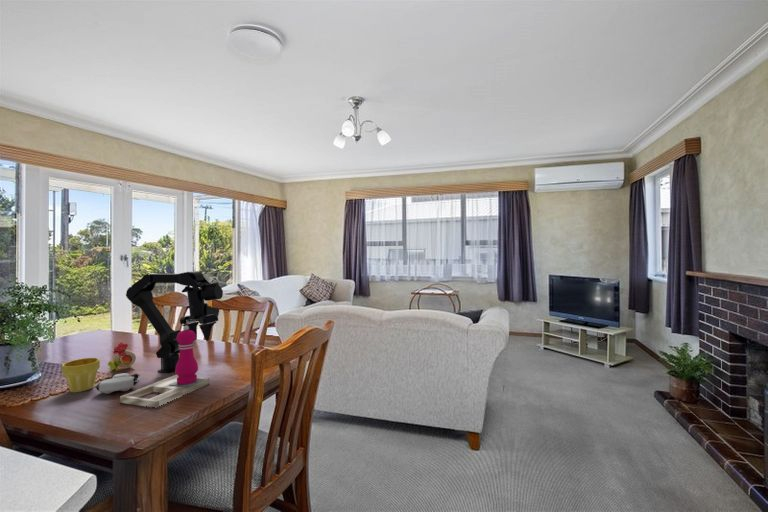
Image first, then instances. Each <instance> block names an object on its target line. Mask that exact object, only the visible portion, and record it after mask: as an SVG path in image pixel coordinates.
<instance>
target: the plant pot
mask: <svg viewBox="0 0 768 512" xmlns="http://www.w3.org/2000/svg"><path fill="white" fill-rule="evenodd" d="M100 362H101V361H100V358H98V357H83V358H77V359H73V360H70V361H66V362H64V363H63V364H62V365H61V372H62V373H61V374H62V376H64V377H65V380H66V383H67V386H68V389H69V392H70V393H82V392H85V391H89V390H92V389H93V386H95V383H96V379H97V373H98V371H99V369H100V366H101V365H100V364H101V363H100Z"/></svg>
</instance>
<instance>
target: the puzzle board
mask: <svg viewBox="0 0 768 512" xmlns="http://www.w3.org/2000/svg"><path fill="white" fill-rule="evenodd" d="M177 377H179V376H178V375H177V374H175V375H172V376H169V377H167V378H164V379H161V380H158V381H157V382H154V383H151V384H149V385H146V386H143V387H141V388H139V389H136V390H133V391H130V392H129V393H125V394H123V395H121V396H120V397H119V399H120V402H119V403H122V404H127V405H133V406H140V407H146V406H147V407H146V408H152V407H155V408H154V409H157V407H158V408H160V407H162V406H164V405H166V404H168V403H167V402H169V403H171V402H173V401H175V400H177V399H179V398H181V397H184V396H186V395H188V394H190V393H192V392H194V391H196V389H197V390H198V389H201V388H202V387H205V386H207V385H210V377H203V376H202V377H201V376H197V380H196V381H195V382H193V383H190V384H184V385H181V384H177ZM158 392H159V393H160V394H158V395H156V396H153V397H151V398H144V397H143V396H146V395H149V394H151V393H158ZM187 393H188V394H187ZM185 394H186V395H185ZM183 395H184V396H183ZM176 398H177V399H176ZM174 399H175V400H174ZM172 400H173V401H172ZM170 401H171V402H170ZM163 404H164V405H163ZM161 405H162V406H161ZM159 406H160V407H159Z"/></svg>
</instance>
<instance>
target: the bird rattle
mask: <svg viewBox="0 0 768 512" xmlns="http://www.w3.org/2000/svg"><path fill="white" fill-rule="evenodd" d="M128 346H129V345H128V343H122V342H119V343H118V345H117V346H115V347H114V348H113V354H114V355H115V357H114V358H113V360H111V361H109V362H108V363H107V366H108V367H109V370H110V371H118V372H119V370H120V369H119V367H120V368H128V369H131V367H132V366H133V365H134V363H135V362H136V359H137V357H136V354H135V353H134V352H133V351H132V350H128V349H127V348H128Z"/></svg>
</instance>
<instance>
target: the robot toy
mask: <svg viewBox="0 0 768 512" xmlns="http://www.w3.org/2000/svg"><path fill="white" fill-rule="evenodd" d="M139 377H141V374H139V373H135V374H134V373H133V374H132V375H130V374H129V373H128V372H126V373H125V372H124V373H117V374H114V375H113V376H112V378H111V376H110V377H107V376H106V377H105V378H104V379H103V380H102V381H100V382H99V383H98V384H97V385H94V386H93V388H95V389H96V390H97V391H98V392H99V393H104V394H106V395H107V394H112V393H114V392H118V391H120V392H127V391H129V390H130V389H132V388H133V387H134V386H136V384H138V383H139ZM93 388H92V389H93Z"/></svg>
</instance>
